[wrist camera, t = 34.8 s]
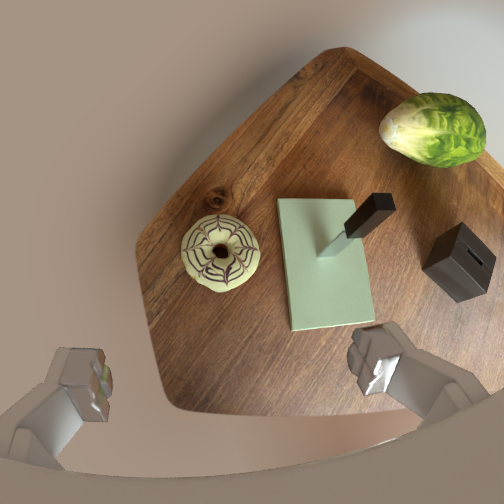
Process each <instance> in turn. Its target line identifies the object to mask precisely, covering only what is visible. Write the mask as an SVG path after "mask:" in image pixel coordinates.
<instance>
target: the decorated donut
mask: <svg viewBox="0 0 504 504" xmlns="http://www.w3.org/2000/svg"><path fill="white" fill-rule="evenodd" d="M219 246H220V247H223V248H225V249H227V250H228V257H227V258H225V259H221V258H217V257H216V256H215V254H214V253H213V249H214V248H216V247H219ZM181 258H182V261H183V263H184V265H185V269H186V271H187V273H188V274H189V275H190V276H191V277H192V278H194V279H195V280H196V281H197V282H198V283H200V284H202V285H205V286H207V287H208V288H210V289H211V290H213V291H216V292H225V291H228V290H230V289H233V288H236V287H237V286H239V285H241V284H243V283H244V282H246V281H247V280H248V279H249V278H250V277H251V275H252V274H253V273H254V272H255V270H256V268H257V266H258V262H259V259H260V250H259V246H258V243H257V240H256V238H255V237H254V235H253V233H252V232H251V230H250V229H249V228H248V227H247V226H246V225H245V224H244V223H242V222H241V221H240V220H238V219H236V218H234V217H232V216H229V215H225V214H224V215H218V214H215V215H208V216H205V217H204V218H202V219H200V220H198V221H197V222H196V223H195V224H194V225H193V226H192V227H191V229H190V230H189V231H188V232H187V233H186V234H185V236H184V238H183V241H182V246H181Z"/></svg>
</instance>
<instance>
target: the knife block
mask: <svg viewBox="0 0 504 504" xmlns="http://www.w3.org/2000/svg"><path fill="white" fill-rule="evenodd" d="M495 261H496V256H495V255H494V254H493V253H492V252H491V251H490V250H489V249H488V248H487V247H486V245H485V244H484V243H483V242H482V241H481V240H480V239H479V238H478V237H477V236H476V235H475V234H474V233H473V232H472V231H471V230H470V229H469V228H468V227H467V226H466V225H465V224H464V223H463V222H461V223H459V224H458V225H456V226H455V227H453V228H452V229H450V230H449V231H447V232H445V233H444V234H442V235H441V236H439V237H437V238H436V240H435V243H434V245H433V247H432V250H431V252H430V254H429V257H428V259H427V261H426V263H425V266H424V268H423V270H422V271H423V272H425V273H426V274H427V275H428V276H429V277H430V278H431V279H432V280H433V281H434V282H436V283H437V284H438V285H439V286H440V287H441V288H442V289H443V290H444V291H445V292H446V293H447V294H448V295H449V296H450V297H451V298H453V299H454V300H455V301H456V302H457V303H459V302H462V301H465V300H468V299H471V298H474V297H477V296H480V295H483V294H485V293H487V290H488V287H489V283H490V280H491V276H492V273H493V269H494V265H495Z"/></svg>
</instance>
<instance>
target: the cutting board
mask: <svg viewBox="0 0 504 504" xmlns="http://www.w3.org/2000/svg"><path fill="white" fill-rule="evenodd" d="M277 210H278V218H279V226H280V234H281V243H282V252H283V260H284V269H285V278H286V288H287V297H288V307H289V316H290V326H291V331H296V330H306V329H315V328H324V327H333V326H341V325H349V324H357V323H364V322H371V321H375V316H374V309H373V302H372V295H371V289H370V282H369V276H368V270H367V264H366V259H365V253H364V248H363V243H362V238H356V239H355V240H354V241H353V242H352V243H351V244H349V245H348V246H347V247H346V248H345V249H344V250H342V251H341V252H340V253H339V254H338V255H337V256H335V257H321V258H317V255H318V254H319V253H320V252H321V251H322V250H323V249H324V248H325V247H326V246H327V245H328V244H329V243H330V242H331V241H333V240H334V239H335V238H336V236H337V235H338V234H339V233H340V232H341V231H342V230H345V228H344V223H345V222H346V221H347V220H348V219H349V218H350V216H351V215H352V214H353V213H354V212H355V211H356V209H355V204H354V200H348V199H278V200H277Z"/></svg>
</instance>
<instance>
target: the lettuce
mask: <svg viewBox="0 0 504 504" xmlns="http://www.w3.org/2000/svg"><path fill="white" fill-rule="evenodd" d="M379 133H380V136H381V138H382V140H383V141H384V142H385V143H386V144H387V145H388V146H389V147H390V148H392V149H394V150H396V151H398V152H400V153H401V154H403V155H404V156H406V157H408V158H410V159H412V160H414V161H416V162H419V163H421V164H424V165H428V166H434V167H438V168H448V167H454V166H457V165H459V164H461V163H466V162H470V161H472V160H475V159H477V158H478V157H479V156H480V155H481V154H482V152H483V150H484V147H485V145H486V130H485V126H484V124H483V121H482V118H481V117H480V115H479V114H478V112H477V111H476V110H475V108H474V107H472V106H471V105H470V104H469V103H468V102H467V101H465V100H463V99H461V98H459V97H456V96H453V95H450V94H442V93H431V92H430V93H422V94H419V95H416V96H414V97H412V98H409V99H407V100H406V101H404V102H402V103H401V104H400V105H399V106H398V107H396V108H395V109H393V110H391V111H390V112H389V113H388V114H387V115H386V116H385V117H384V118H383V120H382V121H381V123H380V127H379Z"/></svg>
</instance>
